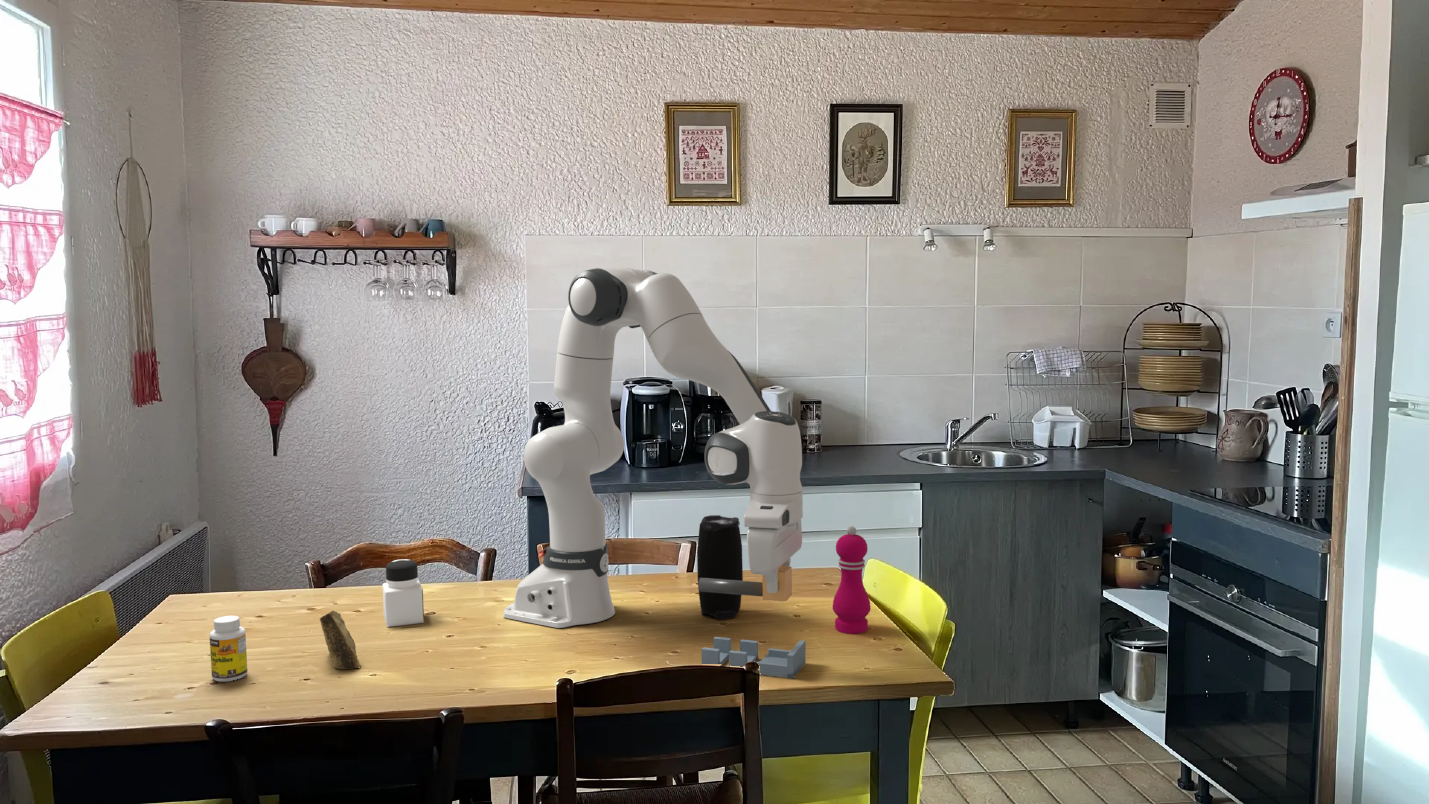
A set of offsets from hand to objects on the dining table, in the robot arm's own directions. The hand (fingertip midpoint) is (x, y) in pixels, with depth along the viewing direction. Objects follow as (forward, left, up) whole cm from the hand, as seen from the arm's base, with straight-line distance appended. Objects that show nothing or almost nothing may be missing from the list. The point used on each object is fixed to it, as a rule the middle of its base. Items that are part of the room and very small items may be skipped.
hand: (777, 587), depth 180 cm
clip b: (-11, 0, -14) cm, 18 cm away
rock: (-75, -20, -15) cm, 79 cm away
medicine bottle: (-79, +3, -15) cm, 80 cm away
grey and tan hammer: (-6, 0, -2) cm, 6 cm away
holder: (0, 0, -14) cm, 14 cm away
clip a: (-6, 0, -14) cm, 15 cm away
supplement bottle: (-88, -33, -14) cm, 95 cm away
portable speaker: (-20, +26, -14) cm, 36 cm away
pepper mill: (+7, +25, -14) cm, 30 cm away
